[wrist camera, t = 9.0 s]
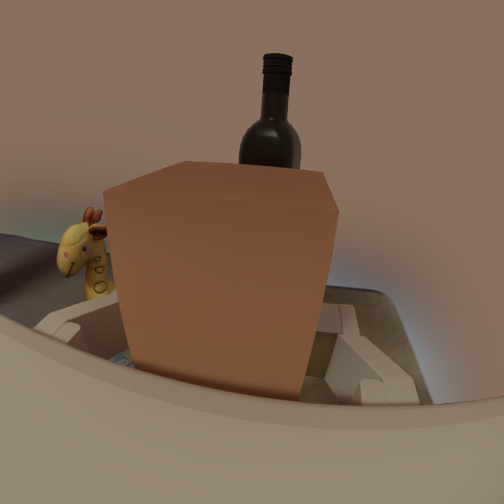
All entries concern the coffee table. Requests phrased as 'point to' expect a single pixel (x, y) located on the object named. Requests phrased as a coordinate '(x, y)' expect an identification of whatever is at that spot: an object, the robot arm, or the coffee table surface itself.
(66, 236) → the stuffed giraffe
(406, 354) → the coffee table surface
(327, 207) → the pillar
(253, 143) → the wine bottle
